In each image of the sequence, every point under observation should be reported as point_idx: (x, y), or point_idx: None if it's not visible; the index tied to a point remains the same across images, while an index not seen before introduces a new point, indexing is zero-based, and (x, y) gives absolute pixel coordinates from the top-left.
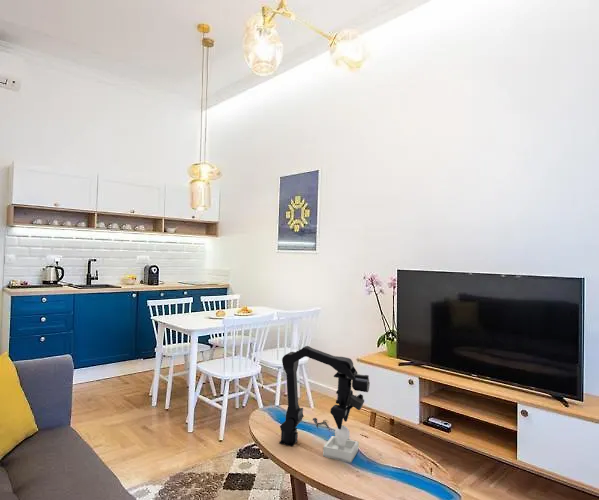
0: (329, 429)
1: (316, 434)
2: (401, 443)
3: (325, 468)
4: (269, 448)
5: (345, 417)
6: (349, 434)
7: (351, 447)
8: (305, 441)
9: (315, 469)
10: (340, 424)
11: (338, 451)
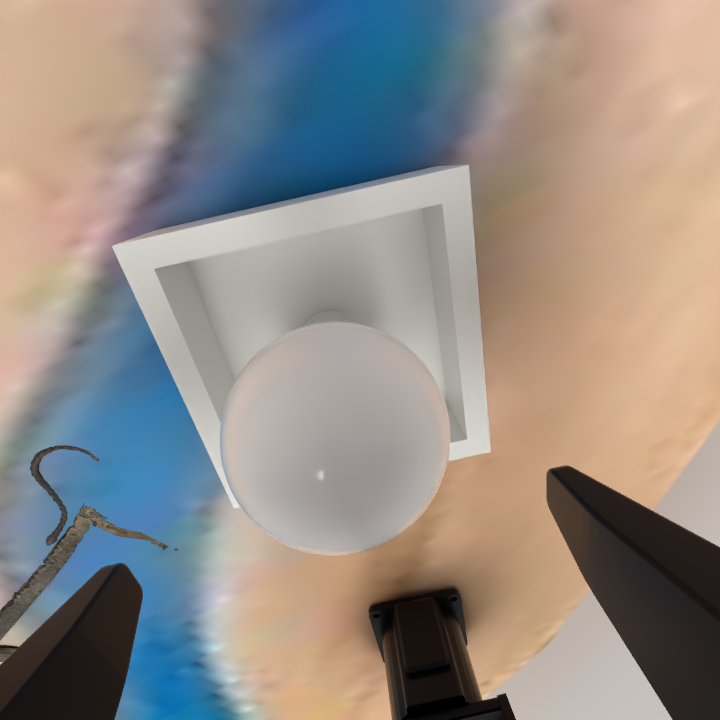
0: (39, 582)
1: (191, 591)
2: None
3: (633, 297)
4: (543, 632)
5: (90, 669)
6: (299, 335)
7: (196, 294)
8: (339, 578)
9: (675, 344)
10: (686, 551)
11: (476, 314)
